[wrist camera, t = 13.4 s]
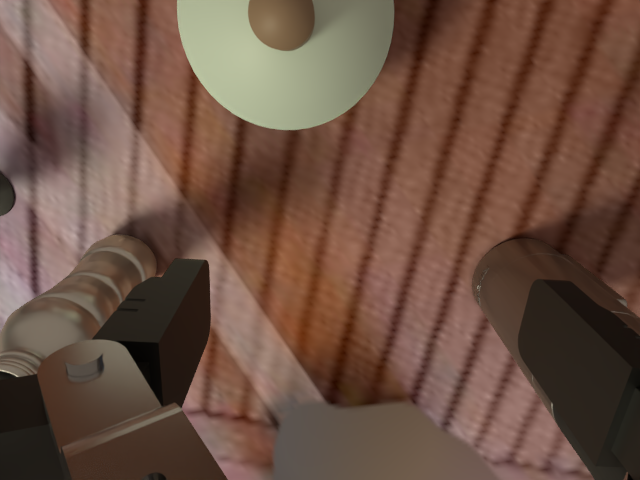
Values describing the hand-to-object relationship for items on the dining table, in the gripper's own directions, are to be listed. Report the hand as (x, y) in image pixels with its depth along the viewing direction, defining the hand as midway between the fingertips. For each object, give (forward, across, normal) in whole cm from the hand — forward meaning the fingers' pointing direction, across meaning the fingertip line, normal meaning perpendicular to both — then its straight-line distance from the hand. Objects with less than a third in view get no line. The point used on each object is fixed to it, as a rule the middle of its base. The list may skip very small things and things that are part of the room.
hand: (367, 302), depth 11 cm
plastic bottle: (+32, +19, +14) cm, 40 cm away
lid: (+26, +4, -8) cm, 28 cm away
